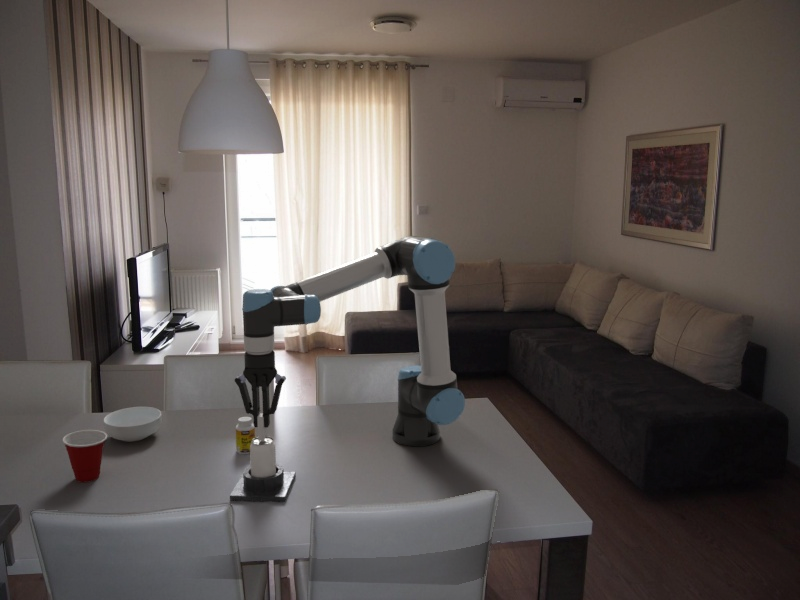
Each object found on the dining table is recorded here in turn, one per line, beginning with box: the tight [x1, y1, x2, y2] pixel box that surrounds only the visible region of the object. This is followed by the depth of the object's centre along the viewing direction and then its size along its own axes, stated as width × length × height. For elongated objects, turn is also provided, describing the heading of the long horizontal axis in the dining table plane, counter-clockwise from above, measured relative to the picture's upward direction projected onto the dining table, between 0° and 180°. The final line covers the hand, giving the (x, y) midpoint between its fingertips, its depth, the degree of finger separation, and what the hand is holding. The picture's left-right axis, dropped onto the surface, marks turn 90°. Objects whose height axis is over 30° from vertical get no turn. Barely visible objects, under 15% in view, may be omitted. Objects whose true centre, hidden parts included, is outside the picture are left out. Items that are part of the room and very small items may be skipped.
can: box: [249, 435, 277, 478], centre depth 165 cm, size 6×6×12 cm
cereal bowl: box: [103, 406, 163, 443], centre depth 198 cm, size 17×17×7 cm
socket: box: [229, 463, 297, 503], centre depth 166 cm, size 14×14×5 cm
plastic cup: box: [62, 429, 108, 483], centre depth 170 cm, size 11×11×12 cm
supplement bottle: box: [235, 416, 256, 455], centre depth 188 cm, size 6×6×10 cm
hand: (262, 438), depth 164 cm, fingers closed
